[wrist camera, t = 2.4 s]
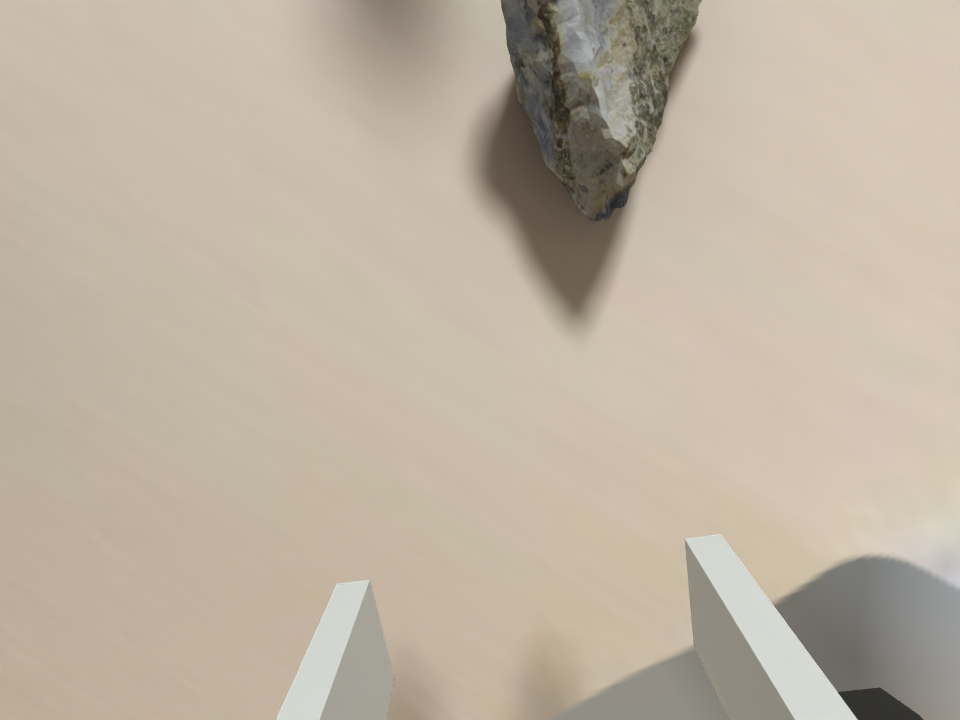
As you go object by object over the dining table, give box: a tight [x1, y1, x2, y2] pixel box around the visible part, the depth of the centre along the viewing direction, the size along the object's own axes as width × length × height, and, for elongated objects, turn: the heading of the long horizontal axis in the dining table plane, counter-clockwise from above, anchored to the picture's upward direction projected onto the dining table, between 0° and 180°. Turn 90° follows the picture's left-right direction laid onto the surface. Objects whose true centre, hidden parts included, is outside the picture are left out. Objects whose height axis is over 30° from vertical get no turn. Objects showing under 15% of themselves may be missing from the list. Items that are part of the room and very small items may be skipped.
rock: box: [501, 0, 702, 221], centre depth 20 cm, size 11×6×10 cm
